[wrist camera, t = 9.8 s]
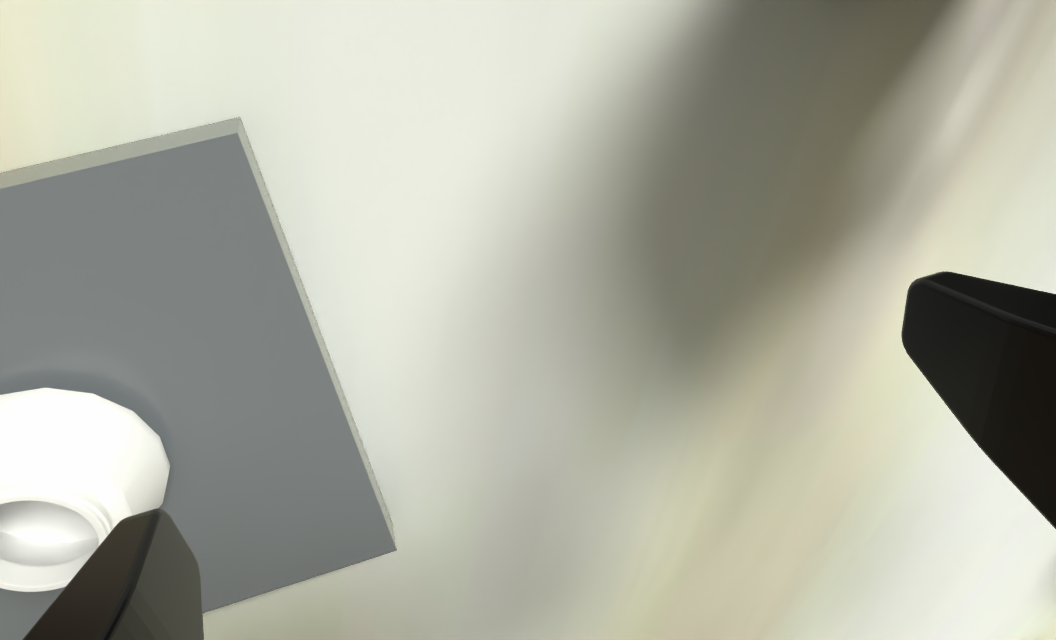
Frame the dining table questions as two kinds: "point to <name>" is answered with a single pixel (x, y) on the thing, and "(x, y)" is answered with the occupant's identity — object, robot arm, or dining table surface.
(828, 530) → the dining table surface
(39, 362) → the coaster
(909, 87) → the dining table surface
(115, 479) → the white jar
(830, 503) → the dining table surface
